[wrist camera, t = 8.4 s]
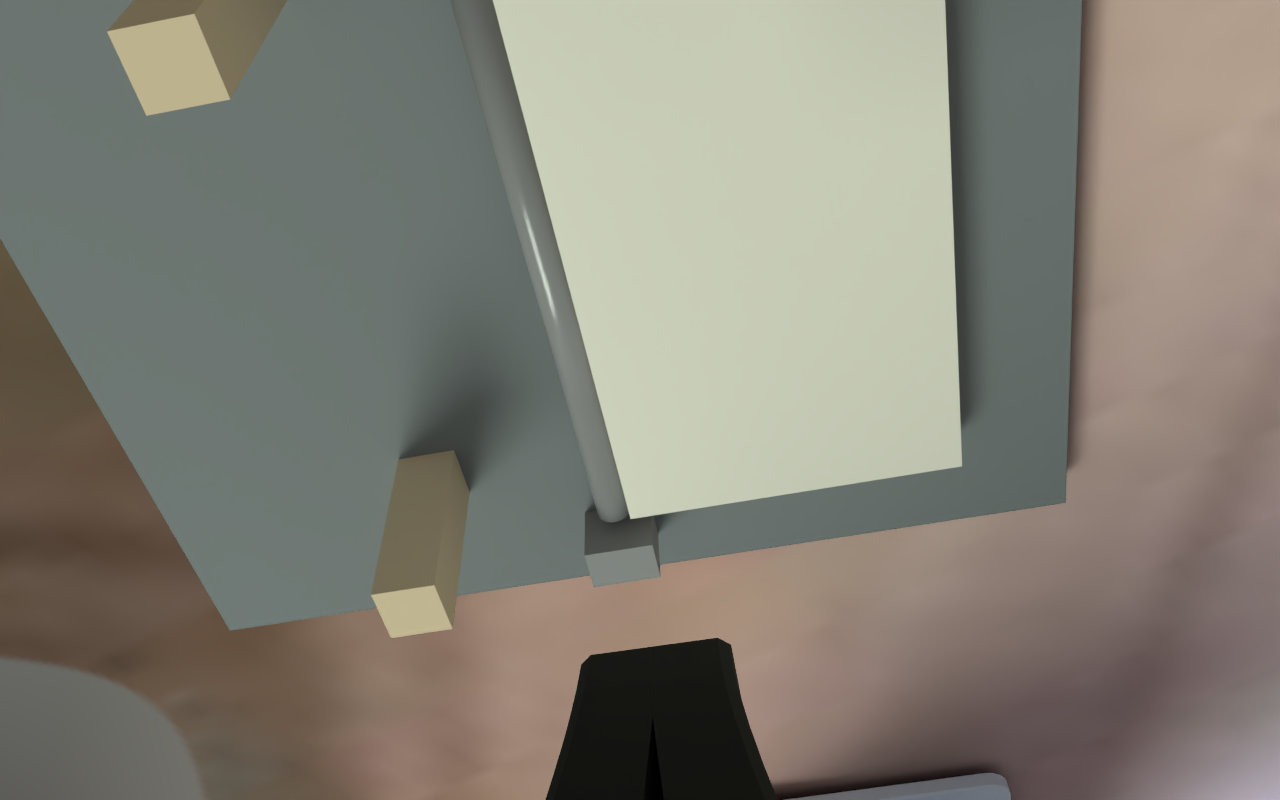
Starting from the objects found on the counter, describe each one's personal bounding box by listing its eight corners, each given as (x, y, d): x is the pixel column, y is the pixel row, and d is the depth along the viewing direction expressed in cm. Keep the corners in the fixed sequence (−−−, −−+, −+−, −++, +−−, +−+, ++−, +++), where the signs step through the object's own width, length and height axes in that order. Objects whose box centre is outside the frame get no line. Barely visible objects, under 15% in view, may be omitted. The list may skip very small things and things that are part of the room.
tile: (598, 528, 21) (597, 497, 22) (961, 470, 21) (951, 440, 21) (402, -144, 15) (410, -160, 15) (935, -257, 14) (921, -270, 15)
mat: (1056, 480, 23) (1125, 637, 20) (237, 607, 24) (185, 770, 21) (1081, -504, 14) (1217, -493, 11) (-227, -206, 15) (-431, -123, 12)
